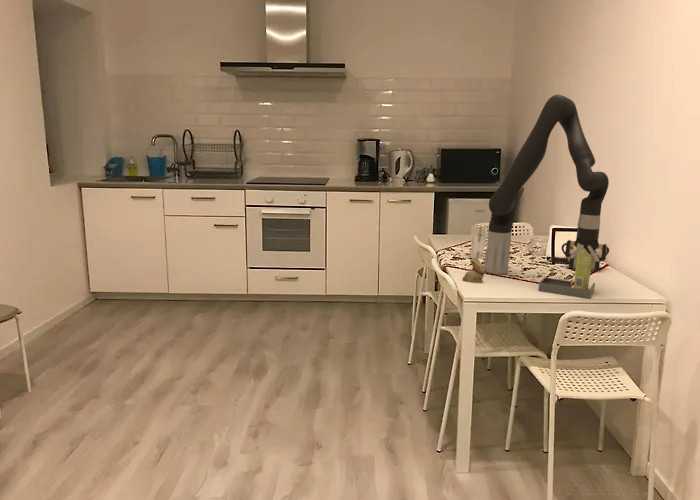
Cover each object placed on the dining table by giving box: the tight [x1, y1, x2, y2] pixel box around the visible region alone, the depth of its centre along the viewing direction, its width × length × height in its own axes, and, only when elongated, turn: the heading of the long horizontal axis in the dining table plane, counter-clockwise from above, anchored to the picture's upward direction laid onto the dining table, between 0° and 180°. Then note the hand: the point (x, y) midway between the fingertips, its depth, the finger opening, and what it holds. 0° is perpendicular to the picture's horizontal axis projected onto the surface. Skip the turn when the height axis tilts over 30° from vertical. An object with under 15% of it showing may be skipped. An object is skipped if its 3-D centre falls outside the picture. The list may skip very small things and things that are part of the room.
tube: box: [573, 243, 595, 290], centre depth 223 cm, size 6×5×20 cm
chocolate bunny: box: [462, 257, 486, 284], centre depth 233 cm, size 6×8×10 cm
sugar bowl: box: [561, 242, 610, 271], centre depth 258 cm, size 20×15×15 cm
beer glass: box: [469, 223, 487, 260], centre depth 273 cm, size 7×7×15 cm
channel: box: [538, 276, 596, 300], centre depth 224 cm, size 18×12×3 cm, turn 61°
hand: (583, 269), depth 223 cm, fingers open, 8 cm apart
